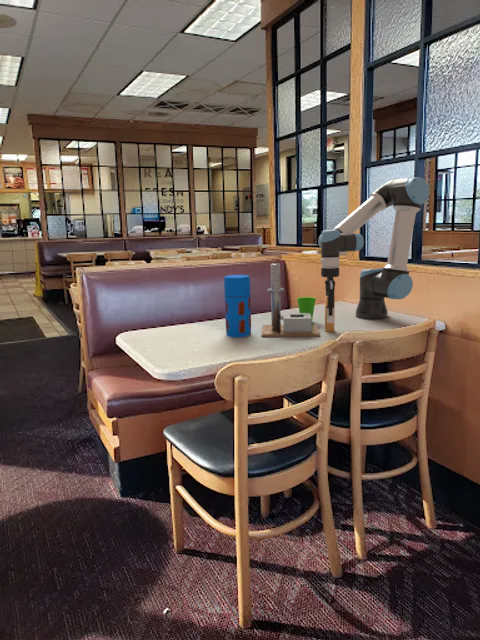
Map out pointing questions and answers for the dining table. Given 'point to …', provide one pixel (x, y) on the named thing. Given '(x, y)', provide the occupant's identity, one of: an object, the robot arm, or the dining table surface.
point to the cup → (306, 305)
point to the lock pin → (328, 326)
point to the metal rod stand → (286, 315)
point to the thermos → (237, 305)
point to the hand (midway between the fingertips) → (329, 321)
